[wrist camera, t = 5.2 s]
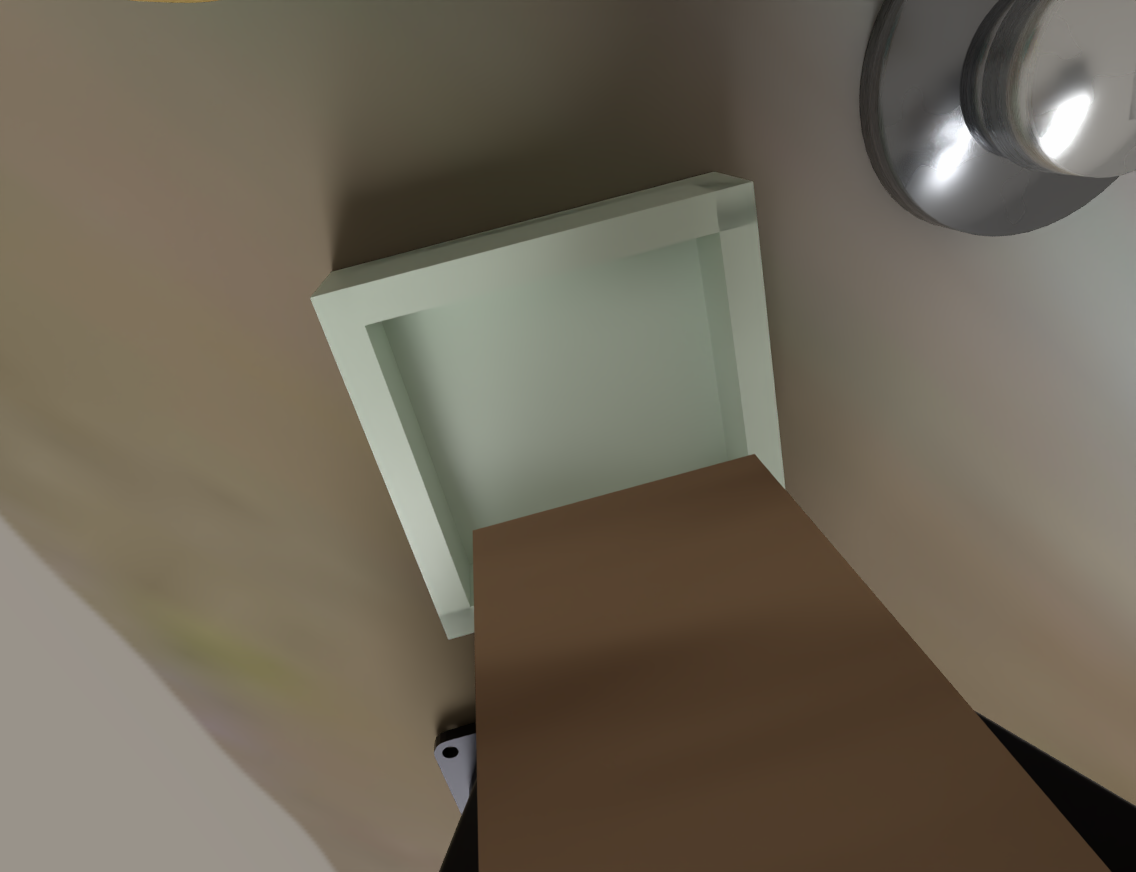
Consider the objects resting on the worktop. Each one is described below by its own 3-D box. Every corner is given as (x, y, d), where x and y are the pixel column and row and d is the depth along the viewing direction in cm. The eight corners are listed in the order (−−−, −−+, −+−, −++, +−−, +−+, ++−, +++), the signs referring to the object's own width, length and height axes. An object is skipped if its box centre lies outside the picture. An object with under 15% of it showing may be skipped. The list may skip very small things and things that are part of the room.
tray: (755, 498, 20) (791, 545, 18) (450, 581, 20) (448, 639, 18) (714, 171, 16) (753, 181, 14) (331, 272, 16) (310, 297, 14)
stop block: (781, 665, 11) (1069, 1167, 6) (543, 732, 11) (615, 1304, 6) (754, 454, 10) (1126, 889, 4) (472, 530, 10) (483, 1076, 4)
